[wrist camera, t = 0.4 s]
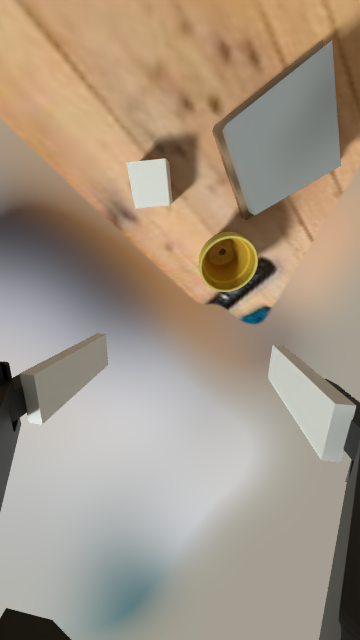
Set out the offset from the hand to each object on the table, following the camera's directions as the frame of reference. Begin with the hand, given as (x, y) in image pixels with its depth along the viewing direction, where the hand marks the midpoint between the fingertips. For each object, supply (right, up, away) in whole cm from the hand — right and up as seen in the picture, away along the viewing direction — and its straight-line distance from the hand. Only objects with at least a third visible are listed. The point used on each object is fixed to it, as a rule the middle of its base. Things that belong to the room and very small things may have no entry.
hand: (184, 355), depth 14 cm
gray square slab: (+14, +29, +13) cm, 35 cm away
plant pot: (+9, +18, +26) cm, 33 cm away
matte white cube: (-5, +28, +20) cm, 35 cm away
